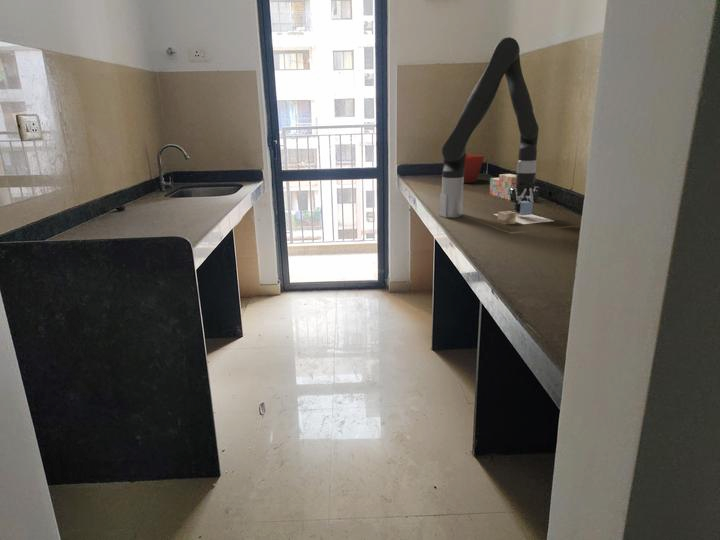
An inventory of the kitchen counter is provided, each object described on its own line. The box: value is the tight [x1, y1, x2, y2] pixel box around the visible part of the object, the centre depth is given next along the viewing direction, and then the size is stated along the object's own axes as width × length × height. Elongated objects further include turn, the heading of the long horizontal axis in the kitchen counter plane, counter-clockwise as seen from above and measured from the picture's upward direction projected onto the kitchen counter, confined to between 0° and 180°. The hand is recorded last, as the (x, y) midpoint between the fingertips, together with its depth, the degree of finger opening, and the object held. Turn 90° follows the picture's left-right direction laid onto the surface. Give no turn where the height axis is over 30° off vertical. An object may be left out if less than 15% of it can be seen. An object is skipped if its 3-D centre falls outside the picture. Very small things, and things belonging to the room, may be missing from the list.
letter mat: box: [492, 213, 554, 225], centre depth 206 cm, size 15×22×1 cm
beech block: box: [496, 210, 516, 225], centre depth 197 cm, size 5×5×5 cm
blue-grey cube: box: [514, 200, 534, 215], centre depth 205 cm, size 5×5×5 cm
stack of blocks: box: [489, 173, 520, 201], centre depth 257 cm, size 21×6×12 cm, turn 15°
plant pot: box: [463, 153, 485, 184], centre depth 317 cm, size 19×19×17 cm
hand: (523, 211), depth 205 cm, fingers closed on blue-grey cube, 5 cm apart
